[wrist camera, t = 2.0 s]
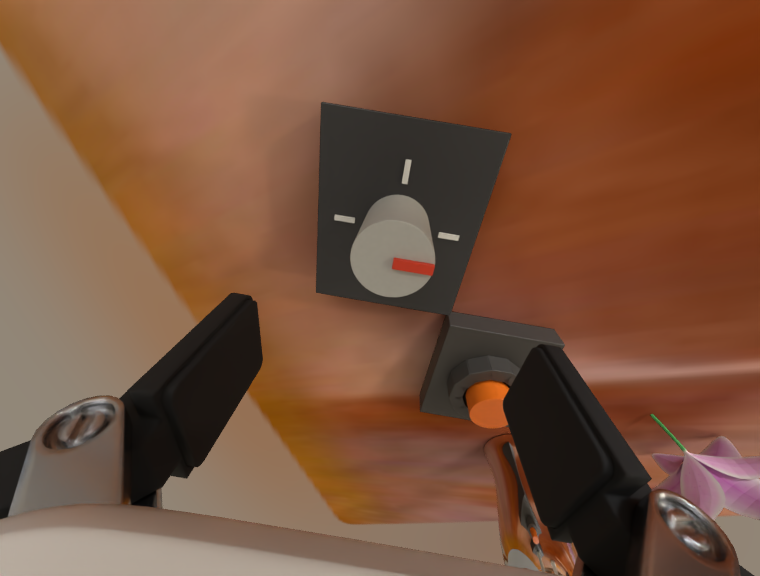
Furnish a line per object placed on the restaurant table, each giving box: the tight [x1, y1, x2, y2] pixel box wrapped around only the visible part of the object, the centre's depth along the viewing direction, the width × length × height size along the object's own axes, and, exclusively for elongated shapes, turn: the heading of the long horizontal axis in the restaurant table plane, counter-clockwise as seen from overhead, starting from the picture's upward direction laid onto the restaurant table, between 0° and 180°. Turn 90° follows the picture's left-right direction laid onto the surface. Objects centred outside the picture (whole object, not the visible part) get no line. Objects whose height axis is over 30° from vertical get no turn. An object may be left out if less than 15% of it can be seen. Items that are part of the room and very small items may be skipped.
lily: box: [650, 414, 760, 520], centre depth 28 cm, size 12×12×10 cm
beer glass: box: [484, 434, 577, 576], centre depth 29 cm, size 7×7×15 cm
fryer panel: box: [316, 102, 511, 315], centre depth 20 cm, size 13×11×3 cm
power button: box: [466, 380, 509, 428], centre depth 25 cm, size 4×4×2 cm
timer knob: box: [350, 195, 435, 297], centre depth 17 cm, size 4×4×6 cm
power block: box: [420, 312, 565, 427], centre depth 27 cm, size 12×10×4 cm
